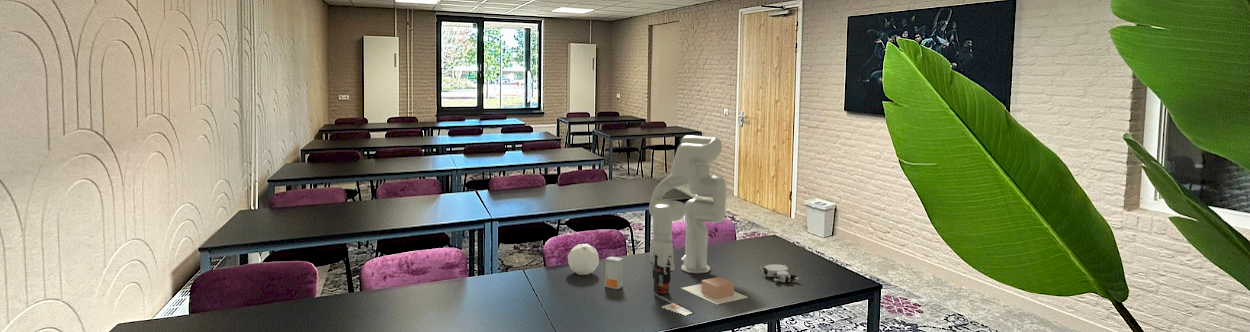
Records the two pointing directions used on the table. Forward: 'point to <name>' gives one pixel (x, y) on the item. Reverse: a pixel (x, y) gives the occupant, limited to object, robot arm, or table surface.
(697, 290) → the plate
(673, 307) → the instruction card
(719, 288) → the brick
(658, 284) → the deodorant
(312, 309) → the table surface
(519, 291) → the table surface
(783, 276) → the robot toy
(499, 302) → the table surface
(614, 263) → the skincare box
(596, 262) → the geodesic sphere
